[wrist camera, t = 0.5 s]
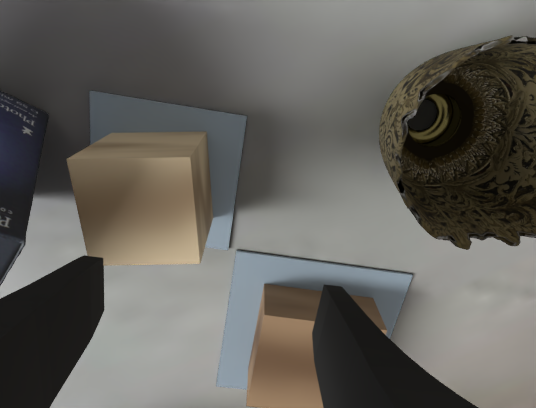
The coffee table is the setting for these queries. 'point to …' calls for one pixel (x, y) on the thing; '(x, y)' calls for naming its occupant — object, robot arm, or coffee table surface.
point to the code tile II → (182, 120)
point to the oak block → (144, 197)
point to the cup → (468, 142)
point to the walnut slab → (289, 348)
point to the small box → (17, 173)
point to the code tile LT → (298, 276)
